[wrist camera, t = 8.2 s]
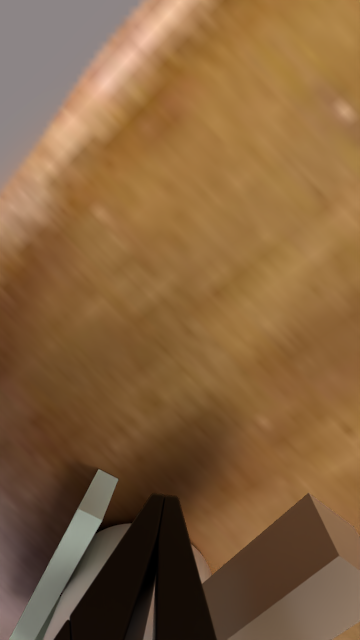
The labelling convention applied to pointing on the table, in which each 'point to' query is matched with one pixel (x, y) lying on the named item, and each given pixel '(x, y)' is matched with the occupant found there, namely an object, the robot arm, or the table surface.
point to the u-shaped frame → (65, 559)
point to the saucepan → (260, 579)
